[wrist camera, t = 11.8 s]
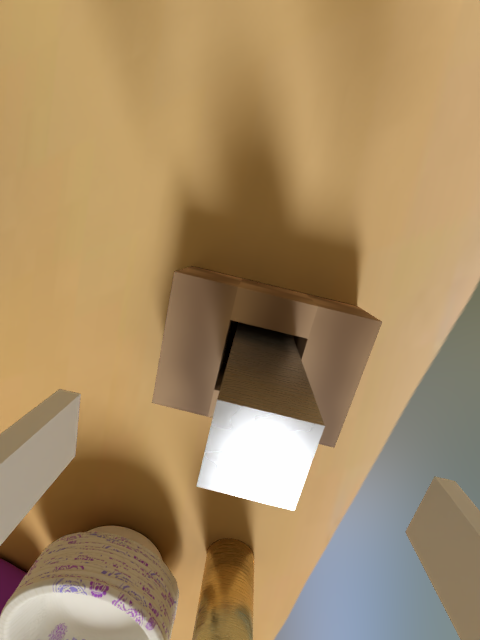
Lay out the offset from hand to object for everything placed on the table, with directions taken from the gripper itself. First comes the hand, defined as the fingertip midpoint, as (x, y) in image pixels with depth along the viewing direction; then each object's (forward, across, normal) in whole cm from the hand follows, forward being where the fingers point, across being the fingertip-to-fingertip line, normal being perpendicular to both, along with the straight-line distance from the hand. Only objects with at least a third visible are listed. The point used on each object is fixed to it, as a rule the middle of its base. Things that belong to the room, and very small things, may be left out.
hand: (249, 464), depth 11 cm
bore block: (+15, +1, 0) cm, 15 cm away
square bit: (+15, +1, 0) cm, 15 cm away
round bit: (+14, +4, -25) cm, 29 cm away
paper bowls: (+15, -8, -29) cm, 34 cm away
